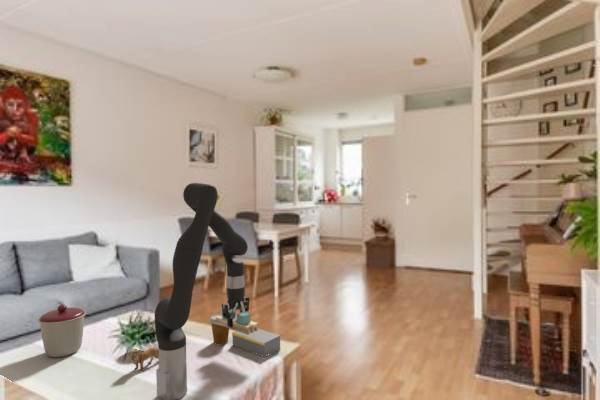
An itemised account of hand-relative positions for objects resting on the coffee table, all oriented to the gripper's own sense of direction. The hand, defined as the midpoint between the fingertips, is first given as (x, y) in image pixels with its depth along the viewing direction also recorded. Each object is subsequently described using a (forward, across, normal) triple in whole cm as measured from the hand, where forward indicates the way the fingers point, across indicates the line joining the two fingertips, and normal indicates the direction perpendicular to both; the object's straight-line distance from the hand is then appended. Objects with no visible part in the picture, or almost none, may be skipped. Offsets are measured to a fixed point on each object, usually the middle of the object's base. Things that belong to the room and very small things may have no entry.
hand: (236, 324), depth 162 cm
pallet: (+1, 0, 0) cm, 1 cm away
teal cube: (-2, 0, -5) cm, 5 cm away
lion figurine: (+14, -29, +22) cm, 39 cm away
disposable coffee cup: (+14, +6, +17) cm, 23 cm away
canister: (+14, -44, +64) cm, 79 cm away
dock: (+14, +12, 0) cm, 18 cm away
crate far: (-2, 0, +5) cm, 5 cm away
